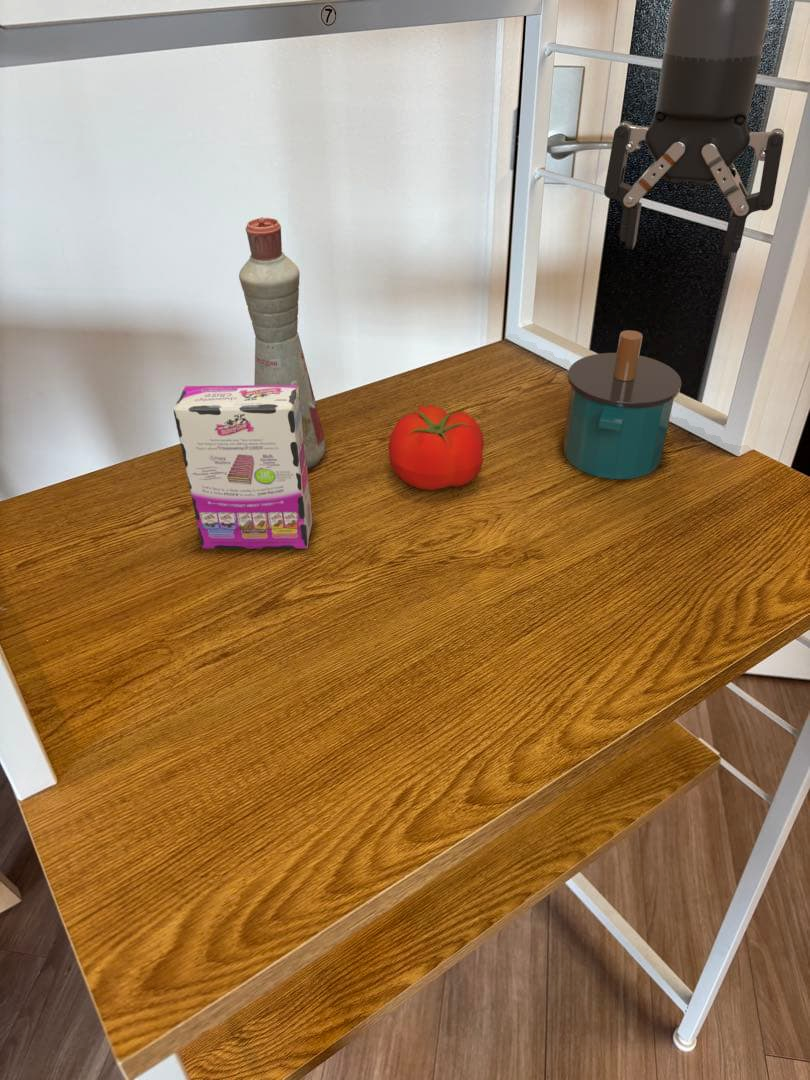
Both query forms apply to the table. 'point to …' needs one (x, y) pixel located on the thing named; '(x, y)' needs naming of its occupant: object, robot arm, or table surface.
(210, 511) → the candy bar box
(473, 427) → the tomato
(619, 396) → the lid
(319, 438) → the bottle
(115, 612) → the table surface
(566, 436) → the pot
